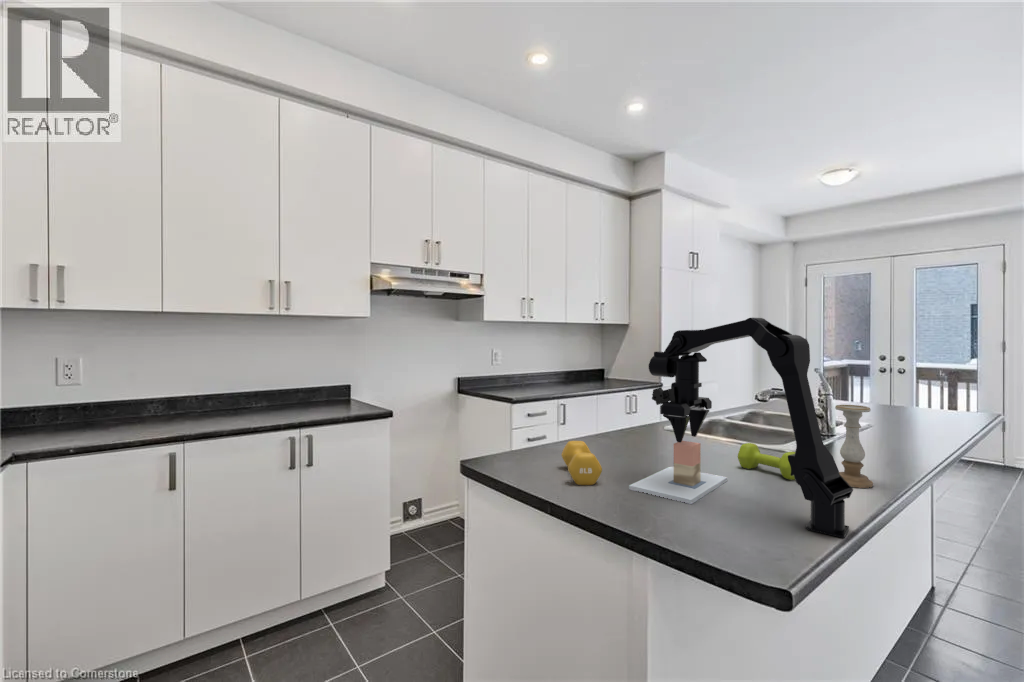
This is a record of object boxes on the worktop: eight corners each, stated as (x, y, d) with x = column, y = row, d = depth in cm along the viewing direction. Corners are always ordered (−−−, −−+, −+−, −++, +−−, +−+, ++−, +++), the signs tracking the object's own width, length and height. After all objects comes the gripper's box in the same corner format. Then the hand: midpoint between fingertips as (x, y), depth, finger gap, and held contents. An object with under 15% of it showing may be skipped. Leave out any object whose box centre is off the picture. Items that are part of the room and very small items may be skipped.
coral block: (692, 466, 120) (692, 446, 120) (673, 462, 123) (673, 443, 123) (700, 462, 124) (700, 443, 124) (681, 459, 127) (681, 440, 127)
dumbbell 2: (807, 478, 131) (807, 452, 131) (790, 483, 127) (790, 456, 127) (751, 464, 145) (751, 441, 145) (734, 468, 141) (734, 443, 141)
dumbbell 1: (560, 467, 143) (560, 439, 143) (591, 466, 143) (590, 439, 143) (568, 486, 124) (568, 455, 124) (603, 486, 124) (603, 455, 124)
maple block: (692, 486, 120) (692, 466, 120) (673, 482, 123) (673, 462, 123) (700, 481, 124) (700, 462, 124) (681, 478, 127) (681, 459, 127)
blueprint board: (691, 504, 111) (691, 499, 111) (629, 489, 121) (629, 484, 121) (727, 481, 128) (727, 476, 128) (670, 469, 139) (670, 465, 139)
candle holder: (825, 481, 128) (825, 405, 128) (843, 476, 132) (844, 403, 132) (861, 490, 120) (861, 409, 120) (880, 485, 124) (880, 407, 124)
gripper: (672, 374, 136) (672, 429, 136) (640, 379, 122) (640, 440, 122) (712, 377, 128) (712, 435, 128) (683, 382, 114) (683, 447, 115)
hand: (686, 439), depth 123 cm, fingers open, 9 cm apart
